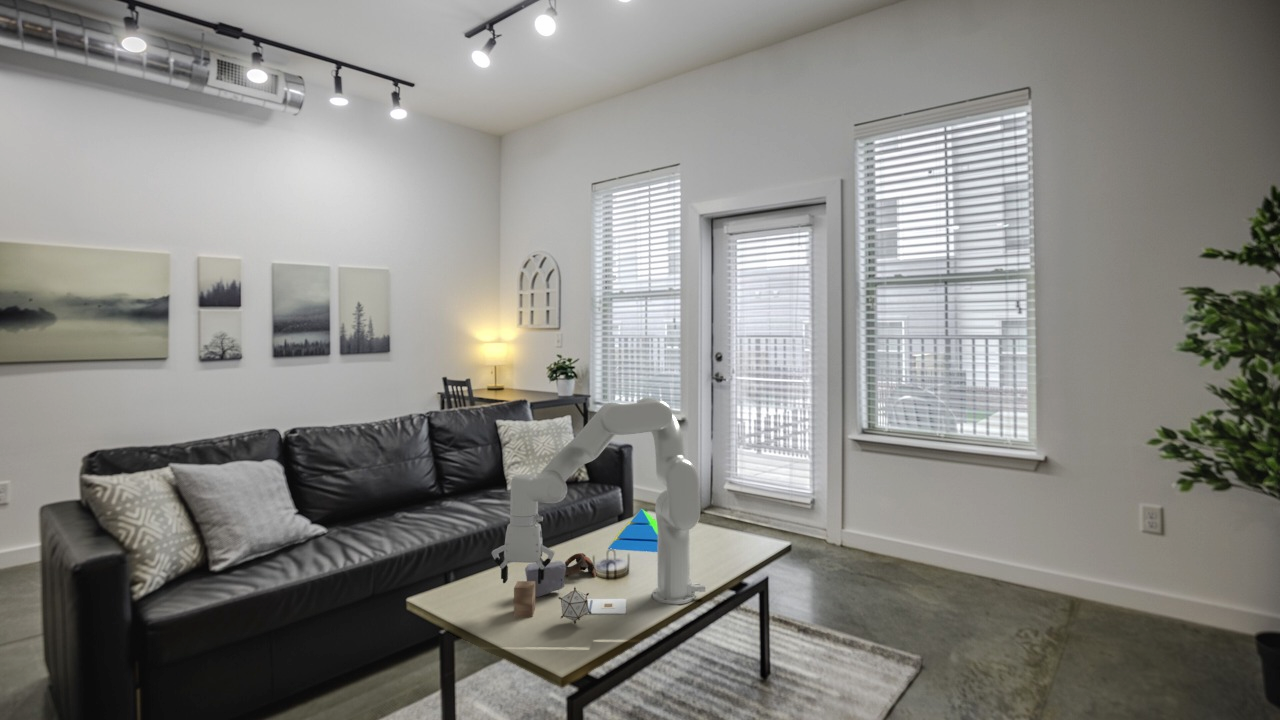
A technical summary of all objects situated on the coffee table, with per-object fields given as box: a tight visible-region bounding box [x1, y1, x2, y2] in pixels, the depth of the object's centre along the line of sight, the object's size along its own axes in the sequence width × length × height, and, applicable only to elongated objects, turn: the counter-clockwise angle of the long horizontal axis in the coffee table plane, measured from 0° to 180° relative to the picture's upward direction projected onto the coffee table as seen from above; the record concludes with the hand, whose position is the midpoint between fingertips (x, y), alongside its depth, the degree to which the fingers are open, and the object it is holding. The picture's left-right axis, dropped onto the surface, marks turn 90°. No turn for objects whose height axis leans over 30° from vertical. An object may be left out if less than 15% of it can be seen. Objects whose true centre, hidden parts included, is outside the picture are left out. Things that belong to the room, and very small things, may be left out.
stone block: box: [524, 560, 566, 598], centre depth 186 cm, size 12×5×10 cm, turn 105°
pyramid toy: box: [607, 508, 658, 553], centre depth 237 cm, size 25×25×14 cm
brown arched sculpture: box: [564, 552, 597, 578], centre depth 203 cm, size 12×9×8 cm
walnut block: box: [513, 580, 536, 618], centre depth 174 cm, size 5×5×8 cm
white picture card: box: [586, 598, 627, 615], centre depth 178 cm, size 12×10×1 cm
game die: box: [557, 586, 593, 624], centre depth 166 cm, size 9×8×10 cm
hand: (522, 581), depth 173 cm, fingers open, 9 cm apart
